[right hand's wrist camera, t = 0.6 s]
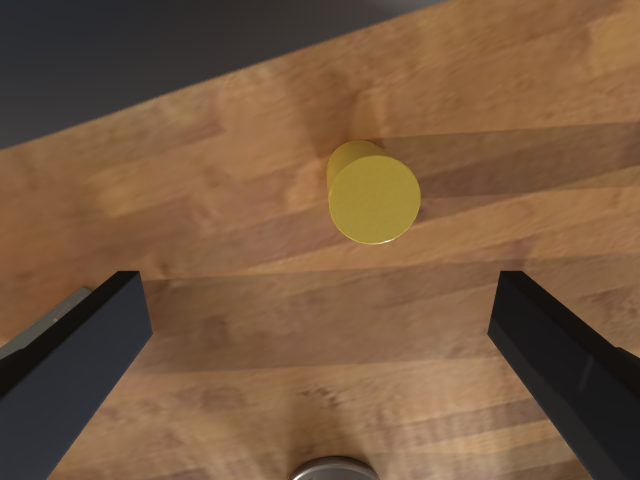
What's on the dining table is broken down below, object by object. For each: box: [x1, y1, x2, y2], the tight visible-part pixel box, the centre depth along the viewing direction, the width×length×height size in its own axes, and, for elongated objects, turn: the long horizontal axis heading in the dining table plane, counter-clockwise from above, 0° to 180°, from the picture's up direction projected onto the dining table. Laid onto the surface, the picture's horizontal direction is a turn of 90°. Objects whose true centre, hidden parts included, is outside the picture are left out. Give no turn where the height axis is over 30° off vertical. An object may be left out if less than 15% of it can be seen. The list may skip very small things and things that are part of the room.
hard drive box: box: [0, 286, 92, 359], centre depth 35 cm, size 16×8×20 cm, turn 127°
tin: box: [326, 140, 421, 244], centre depth 31 cm, size 7×7×12 cm
